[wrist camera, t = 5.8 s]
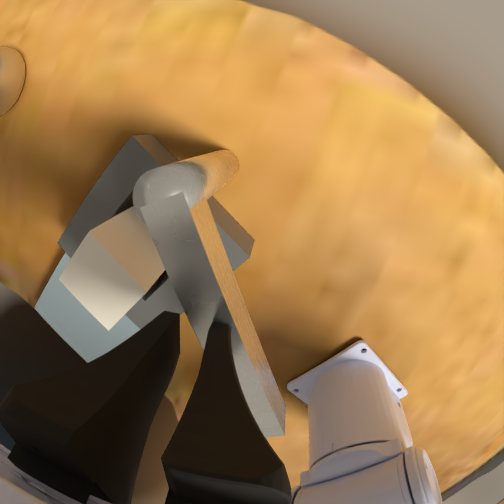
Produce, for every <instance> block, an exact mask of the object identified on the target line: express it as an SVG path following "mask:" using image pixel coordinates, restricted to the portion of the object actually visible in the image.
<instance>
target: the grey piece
mask: <svg viewBox="0 0 504 504" xmlns="http://www.w3.org/2000/svg"><path fill="white" fill-rule="evenodd" d="M238 169H239V161H238V159H237V157H236V156H235V154H234V153H232V152H231V151H228V150H218V151H214V152H211V153H207V154H203V155H199V156H196V157H192V158H188V159H185V160H181V161H178V162H174V163H171V164H168V165H164V166H161V167H158V168H155V169H152V170H149V171H147V172H145V173H144V174H143V175H142V176H141V177H140V178H139V179H138V180H137V182H136V184H135V186H134V190H133V205H134V208H135V211H136V213H137V215H138V216H139V218H140V219H141V220H142V221H143V222H144V223H145V224H146V225H147V227H148V230H149V232H150V235H151V237H152V239H153V242H154V244H155V247H156V249H157V251H158V254H159V256H160V258H161V261H162V263H163V265H164V268H165V270H166V272H167V274H168V277H169V279H170V281H171V283H172V285H173V288H174V290H175V292H176V294H177V296H178V299H179V301H180V303H181V305H182V307H183V309H184V311H185V313H186V315H187V317H188V320H189V322H190V324H191V326H192V328H193V330H194V332H195V334H196V336H197V338H198V340H199V342H200V344H201V346H202V348H203V350H204V348H205V343H206V339H207V334H208V330H209V328H210V326H211V324H212V322H214V323H220V324H226V325H229V326H230V327H231V328H232V329H231V345H232V353H233V358H234V363H235V368H236V372H237V375H238V379H239V382H240V385H241V388H242V391H243V394H244V396H245V399H246V401H247V404H248V406H249V408H250V411H251V413H252V415H253V417H254V418H255V420H256V422H257V424H258V426H259V428H260V430H261V432H262V433H263V435H264V436H265V438H266V437H275V436H284V435H285V413H286V406H285V403H284V401H283V398H282V396H281V393H280V391H279V388H278V386H277V383H276V381H275V378H274V376H273V373H272V371H271V368H270V366H269V363H268V361H267V358H266V356H265V353H264V351H263V348H262V346H261V343H260V341H259V338H258V336H257V333H256V330H255V328H254V325H253V323H252V320H251V318H250V315H249V312H248V310H247V307H246V305H245V302H244V299H243V297H242V294H241V291H240V289H239V286H238V284H237V281H236V278H235V276H234V273H233V270H232V268H231V265H230V262H229V260H228V257H227V254H226V251H225V249H224V246H223V243H222V241H221V238H220V235H219V232H218V230H217V227H216V224H215V222H214V219H213V216H212V213H211V210H210V208H209V205H208V202H207V200H208V199H209V198H210V197H211V196H212V195H214V194H215V193H216V192H217V191H218V190H219V189H220V188H222V187H223V186H224V185H225V184H226V183H227V182H229V181H230V180H231V179H232V178H233V177H234V176H235V175H236V174H237V172H238Z"/></svg>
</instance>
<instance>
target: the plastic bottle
mask: <svg viewBox="0 0 504 504" xmlns="http://www.w3.org/2000/svg"><path fill="white" fill-rule="evenodd" d="M24 80H25V62H24V60H23V58H22V56H21V54H20V53H19V52H18V51H16V50H14V49H12V48H9V47H7V46H0V116H2V115H4V114H5V113H6V112H7V111H8V110H9V109H10V108H11V107H12V106H13V105H14V104H15V102H16V101H17V99H18V97H19V96H20V93H21V91H22V88H23V85H24Z"/></svg>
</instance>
